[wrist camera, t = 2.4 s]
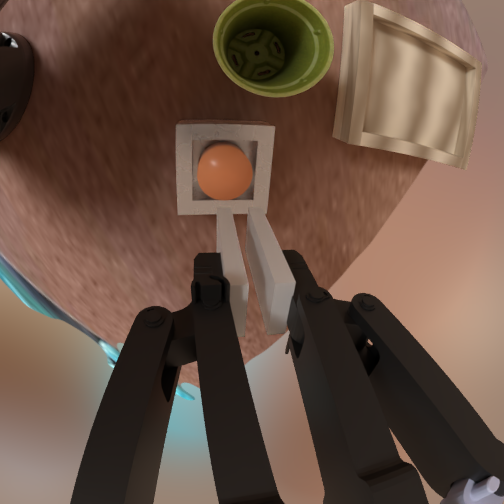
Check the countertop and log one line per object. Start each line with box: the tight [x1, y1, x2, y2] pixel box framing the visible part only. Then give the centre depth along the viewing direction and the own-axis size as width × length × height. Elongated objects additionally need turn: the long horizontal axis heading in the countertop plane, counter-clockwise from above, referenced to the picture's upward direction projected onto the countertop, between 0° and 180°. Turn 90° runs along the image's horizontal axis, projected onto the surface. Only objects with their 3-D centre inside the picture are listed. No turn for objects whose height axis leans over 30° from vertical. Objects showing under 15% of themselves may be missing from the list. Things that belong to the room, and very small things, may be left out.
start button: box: [197, 142, 253, 200], centre depth 26 cm, size 5×5×3 cm
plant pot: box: [213, 0, 334, 97], centre depth 20 cm, size 9×9×9 cm
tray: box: [332, 0, 482, 170], centre depth 25 cm, size 21×17×4 cm
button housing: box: [176, 119, 275, 215], centre depth 27 cm, size 9×9×4 cm
